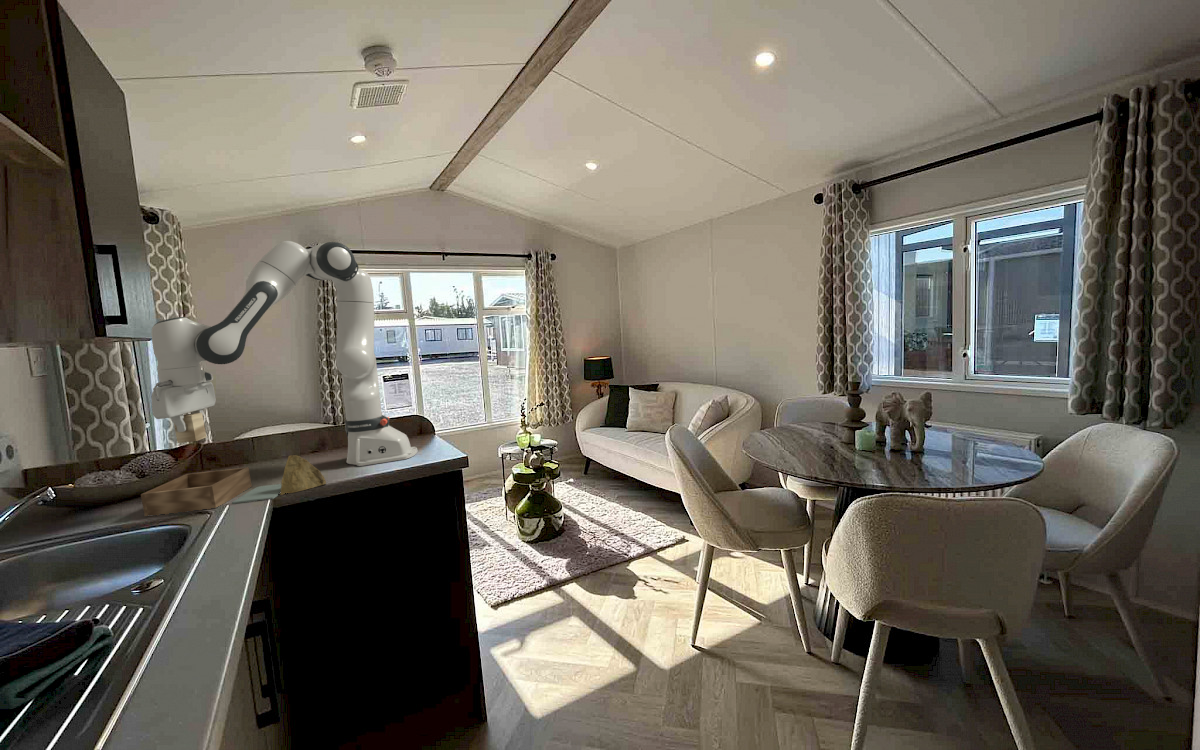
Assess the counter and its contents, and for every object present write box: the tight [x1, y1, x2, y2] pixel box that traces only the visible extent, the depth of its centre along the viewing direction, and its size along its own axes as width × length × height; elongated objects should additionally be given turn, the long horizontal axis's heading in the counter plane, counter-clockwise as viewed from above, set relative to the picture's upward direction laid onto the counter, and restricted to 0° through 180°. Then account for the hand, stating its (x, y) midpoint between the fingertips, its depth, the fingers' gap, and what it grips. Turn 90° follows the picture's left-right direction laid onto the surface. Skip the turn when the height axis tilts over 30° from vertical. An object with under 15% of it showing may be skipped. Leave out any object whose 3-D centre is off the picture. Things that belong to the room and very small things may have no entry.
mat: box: [231, 483, 281, 505], centre depth 140 cm, size 10×13×1 cm
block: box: [173, 413, 207, 444], centre depth 136 cm, size 4×4×7 cm
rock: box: [279, 454, 327, 496], centre depth 141 cm, size 11×9×10 cm
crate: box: [140, 466, 253, 517], centre depth 138 cm, size 17×18×6 cm
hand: (190, 429), depth 136 cm, fingers closed on block, 4 cm apart
